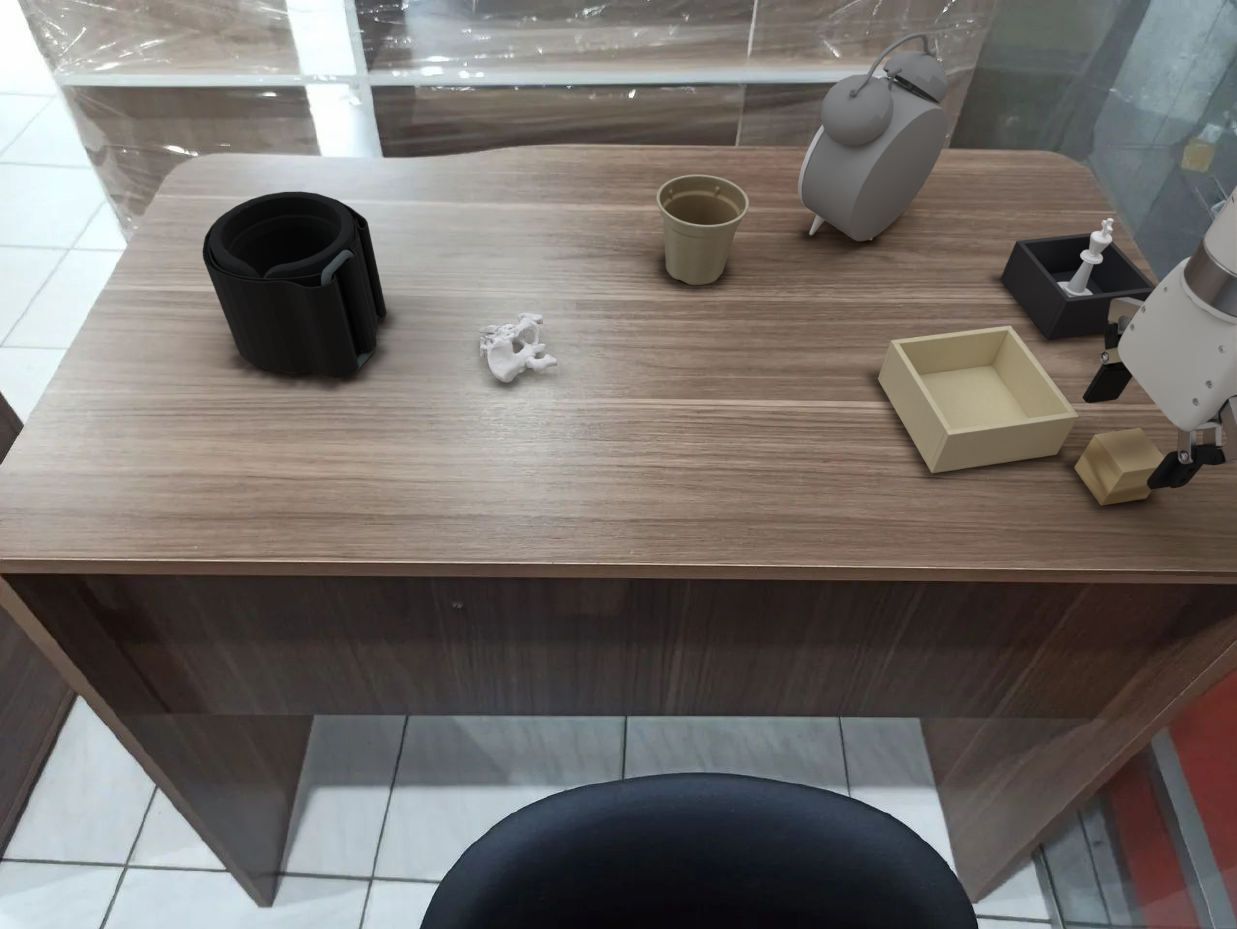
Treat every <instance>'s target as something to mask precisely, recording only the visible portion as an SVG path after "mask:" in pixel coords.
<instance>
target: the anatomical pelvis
mask: <svg viewBox="0 0 1237 929" xmlns="http://www.w3.org/2000/svg"><path fill="white" fill-rule="evenodd" d="M517 320H518V322H519V323H517V324H516V325H515V324H513V323H505V324H504V325H495V324H490V325H488V326H485V327H481V328H479V329H478V333H479V334H484V335H485V337H481V336H480V337H479V342H478V343H479V345H478V346H479V347H478V349H479V351H478V352H479V356H480V358H486V359H487V364H488V367H489V370H490V371H491V373H492V374H493V376H494V377H495V378H496V379H498V380H499V381H501V383H508V384H509V383H511V382H512V381H513V380H514V378H515V377H516V376H517V375H518V374H522V373H523V372H524V371H525V370H526V369H533V371H535V372H542V371H546V369H548V368H550V367H554V366H557V365H558V360H557V358H556V357H553V356H552V355H551V354H550V353H546V354H545V355H544V357H542V358H536V356H537V354H538V353H543V352H544V351H545V350H546V349H547V348H548V345H547V344H546V343H544V342H541V337H540V336H541V335H540V334H541V328H540V326H539V325H544V317H543V315H542V314H539V313H538V314H537V313H531V312H528V311H527V312H526V311H525V312H520V313H519V314H518V315H517ZM530 332H533V333H534V340H533V342H531V343H528V342H527V339H526V336H527V335H529V333H530ZM513 341H516V342H518V343H519V344H520V345H521V346H522V347H523V348H522V349H521V350H520V351H519V352H517V353H515V352H514V346H513ZM540 342H541V343H540Z"/></svg>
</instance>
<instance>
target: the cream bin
mask: <svg viewBox="0 0 1237 929" xmlns="http://www.w3.org/2000/svg"><path fill="white" fill-rule="evenodd" d="M877 381H878V382H879V384H880V386H881V387H882V389H883V391H884V393H885V394H886V396H887V398H888V400H889V402H890V403H891V405H892V407H893V409H894V410H895V412H896V414H897V415H898V417H899V419H900V421H901V422H902V425H903V426H904V428H905V429H906V431H907V433H908V435H909V436H910V438H911V440H912V442H913V443H914V445H915V447H916V448H917V450H918V452H919V454H920V456H921V457H922V459H923V461H924V462H925V464H926V466H927V468H928V469H929V471H930V473H931V474H937V473H944V472H950V471H958V470H963V469H970V468H977V467H984V466H990V465H997V464H1004V463H1011V462H1017V461H1024V460H1030V459H1036V458H1037V459H1038V458H1043V457H1051V456H1056V455H1058V453H1059V451H1060V450H1061V448H1062V447H1063V444H1064V443H1065V441H1066V440H1067V438H1068V436H1069V434H1070V433H1071V431H1072V429H1073V428H1074V426H1075V424H1076V422H1078V419H1079V417H1080V415H1079V414H1078V413H1077V411H1076V410H1075V408H1074V407H1073V406H1072V404H1071V403H1070V401H1068V399H1067V398H1066V397H1065V395H1064V394H1063V393H1062V391H1061V390H1060V388H1059V387H1058V386H1057V385H1056V384H1055V382H1054V381H1053V379H1052V378H1051V377H1050V375H1049V374H1048V373H1047V371H1046V370H1045V369H1044V368H1043V366H1042V365H1041V363H1040V362H1039V361H1038V360H1037V357H1035V355H1034V354H1033V353H1032V352H1031V350H1030V349H1029V347H1028V346H1027V345H1026V343H1025V342H1024V341H1023V339H1022V338H1021V337H1020V336H1019V334H1018V333H1017V332H1016V331H1015V329H1014V328H1013V327H1012V326H1011V325H1003V326H995V327H987V328H978V329H971V330H970V329H969V330H962V331H955V332H946V333H939V334H931V335H921V336H915V337H906V338H899V339H898V338H897V339H891V340H890V342H889V345H888V348H887V351H886V354H885V357H884V360H883V363H882V366H881V368H880V372H879V375H878V378H877Z"/></svg>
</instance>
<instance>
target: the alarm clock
mask: <svg viewBox="0 0 1237 929" xmlns="http://www.w3.org/2000/svg"><path fill="white" fill-rule="evenodd" d="M919 38H920V39H922V43H923V47H922V48H923V51H924V52H923V51H920V50H901V51H899V52H896V53H895V54H893V55H892V56H890V58H889V59H888V60H886V62H885V64H884V65H883V67H882V70H883V71H884V72H885V73H886V76H883V75H875V76H873V74H874V73H875V71H876V69H877V68H878V66H879V65H880V63H881V62H882V61H883V60H884V58H885V57H886V56H888V54H890V53H891V52H892V51H893V50H895V49H897V48H898V47H899V46H901V45H902V44H905V43H906V42H909V41H911V40H914V39H915V40H916V39H919ZM937 51H938V49H937V48H936V47H933V48H932V49H929V38H928V35H927V34H926V33H924V32H914V33H911V34H908V35H905V36H903V37H901V38H900V39H898V40H896V41H895V42H893V43H892V44H890V45H888V47H887V48H885V49H884V50H883V51H882V52H881V53H880V54H879V55H878V57H877V58H876V59H875V61H874V62H873V63H872V65H871V67H870V68H869V71H868V72H867V74H866V73H865V74H853V75H850V76H848V77H845V78H842V79H840V80H839V81H838V82H837V83H835V84H834V85H833V86H832V87H830V88H829V90H828V91H827V93H826V95H825V96H824V97H823V100H822V103H821V110H820V115H819V116H820V120H821V126H820V127H819V129H818V130H817V132H816V133H815V135H814V137H813V139H812V141H811V143H810V145H809V147H808V149H807V151H806V153H805V156H804V159H803V162H802V164H801V168H800V172H799V176H798V182H797V195H798V196H797V197H798V198H799V201H800V203H801V205H802V206H803V207H805V208H806V209H808V210H809V211H811V212H812V213H814V214H815V217H814V220H813V223H812V225H811V228H810V231H809V233H808V234H809V235H810V236H813V235H814V234H815V233H816V232H817V230H818V229H820V227H821V226H822V225H823V223H824V222H827V223H829V224H830V225H832V226H833V227H834V228H836V229H837V230H839V231H840V232H842V233H843V234H845V235H846V236H848V237H849V238H851V239H852V240H854V241H855V242H864V241H873V238H874V237H877V236H878V235H879V234H881V233H882V232H883V231H885V230H886V229H887V228H889V227H890V226H891V224H893V223H894V222H895V221H896V220H897V219H898V218H900V216H901V215H902V213H904V211H906V209H907V207H908V206H910V204H911V203H912V201H913V200H914V199H915V198H916V197H917V195H918V193H919V192H920V190H921V189H922V188H923V186H924V185H925V183H926V181H927V180H928V178H929V176H930V175H931V173H932V171H933V169H934V167H935V166H936V163H937V161H938V159H939V156H940V155H941V152H942V149H943V146H944V144H945V141H946V137H947V132H948V127H949V124H948V115H947V113H946V112H945V110H944V109H943V108H942V107H941V106H939V105H940V104H941V103H942V101H943V100H944V99H945V97H946V95H947V91H948V89H949V79H948V77H947V72H946V71H945V70H944V68H943V66H942V64H940V62H939V61H938V60H937V59H936V58H935V57H936V56H937ZM898 82H899V83H898ZM938 104H939V105H938Z"/></svg>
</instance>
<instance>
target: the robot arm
mask: <svg viewBox="0 0 1237 929" xmlns="http://www.w3.org/2000/svg"><path fill="white" fill-rule="evenodd" d="M1131 319H1132V320H1131ZM1108 321H1109V324H1107V325H1106V326H1105V328H1104V333H1103V339H1104V349H1103V350H1101V351H1100V353H1099V360H1100V363H1102V364H1101V365H1100V367H1099V369H1098V370H1097V372H1096V373H1095V376H1094V377H1093V378H1092V380H1091V382H1090V384H1089V385H1088V386H1087V388H1086V390H1085V391H1084V393H1083V395H1082V400H1083V401H1084V402H1085V403H1086V404H1097V403H1103V402H1111V401H1116V400H1117V399H1119V398H1120V396H1121V395H1122V394H1123V392H1124V390H1125V389H1126V387H1127V386H1128V385H1129V383H1130V381H1131V379H1132V378H1134V379H1135V381H1136V382H1137V384H1139V386H1140V387H1141V388H1142V389H1143V390H1144V392H1145V393H1146V394H1147V396H1148V397H1149V398H1150V399H1151V400H1152V402H1153V403H1154V404H1155V405H1156V407H1158V409H1159V410H1160V411H1161V412H1162V413H1163V415H1164V416H1165V417H1166V418H1167V419H1168V421H1170V422H1171V423H1172V424H1173V425H1174V426H1175V427H1176V428H1177V450H1173V451H1170V452H1168V453H1167V454H1166V455H1165V456H1164V459H1163V460H1162V462H1161V463H1160V464H1159V466H1158V467H1157V468H1156V469H1155V471H1154V472H1153V473H1152V475H1151V476H1150V477H1149V478H1148V480H1147V485H1148V487H1149V488H1150V489H1151V490H1152V491H1153V490H1159V489H1166V488H1170V489H1173V490H1174V489H1180V488H1182V487H1185V486H1186V485H1187V484H1189V483H1190V482H1191V480H1192V479H1193V478H1194V476H1195V475H1197V473H1198V472H1199V470H1200V469H1201V468H1202V467H1203V466H1220V465H1227V464H1233V463H1236V462H1237V185H1235V187H1234V189H1233V190H1232V192H1231V193H1230V195H1229V197H1228V198H1227V199H1226V201H1225V203H1224V204H1223V205H1222V207H1221V209H1220V211H1219V212H1218V213H1217V215H1216V217H1215V218H1214V220H1213V222H1212V223H1211V224H1210V226H1209V228H1208V229H1207V231H1206V233H1205V234H1204V236H1203V238H1202V239H1201V240H1200V242H1199V244H1198V245H1197V247H1196V248H1195V250H1194V251H1193V253H1192V255H1191V256H1188V257H1186V258H1184V259H1183V260H1181V261H1180V262H1178V264H1177V265H1176V266H1175V267H1174V268H1172V270H1171V271H1170V272H1169V273H1167V274H1166V276H1164V277H1163V279H1162V280H1161V281H1160V282H1159V283H1158V285H1157V286H1156V288H1155V289H1154V290H1153V292H1152V293H1151V294H1150V296H1149V297H1148V298H1147V299H1146V301H1145V302H1144V301H1140V300H1137V299H1133V298H1130V297H1122V298H1114V299H1112V300H1111V303H1110V309H1109V315H1108ZM1130 321H1131V322H1130ZM1129 322H1130V323H1129ZM1223 429H1224V432H1225V436H1226V443H1225V444H1224V445H1222V437H1223V436H1222V435H1223V433H1222V432H1223ZM1201 430H1202V444H1197V431H1201Z"/></svg>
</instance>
